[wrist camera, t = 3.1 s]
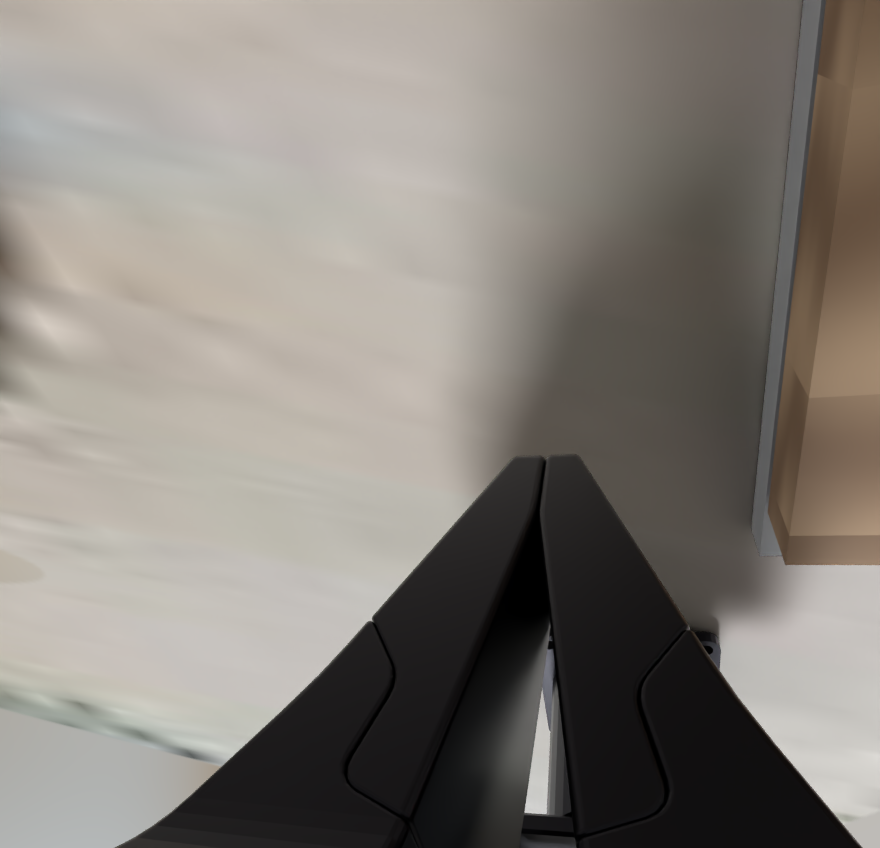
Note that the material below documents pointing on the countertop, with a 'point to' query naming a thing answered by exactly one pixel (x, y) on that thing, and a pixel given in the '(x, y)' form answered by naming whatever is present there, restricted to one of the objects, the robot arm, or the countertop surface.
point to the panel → (835, 314)
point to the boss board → (787, 263)
